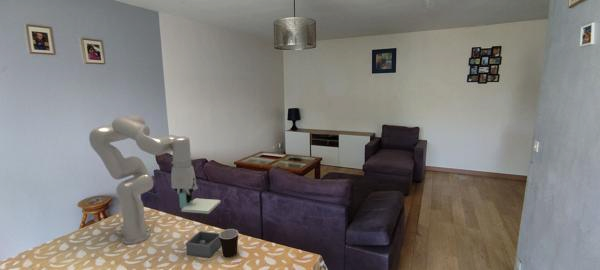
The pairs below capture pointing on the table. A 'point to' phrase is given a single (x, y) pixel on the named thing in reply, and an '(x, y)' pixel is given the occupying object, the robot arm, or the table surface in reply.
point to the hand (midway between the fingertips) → (185, 201)
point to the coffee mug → (229, 242)
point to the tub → (203, 244)
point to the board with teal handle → (197, 204)
